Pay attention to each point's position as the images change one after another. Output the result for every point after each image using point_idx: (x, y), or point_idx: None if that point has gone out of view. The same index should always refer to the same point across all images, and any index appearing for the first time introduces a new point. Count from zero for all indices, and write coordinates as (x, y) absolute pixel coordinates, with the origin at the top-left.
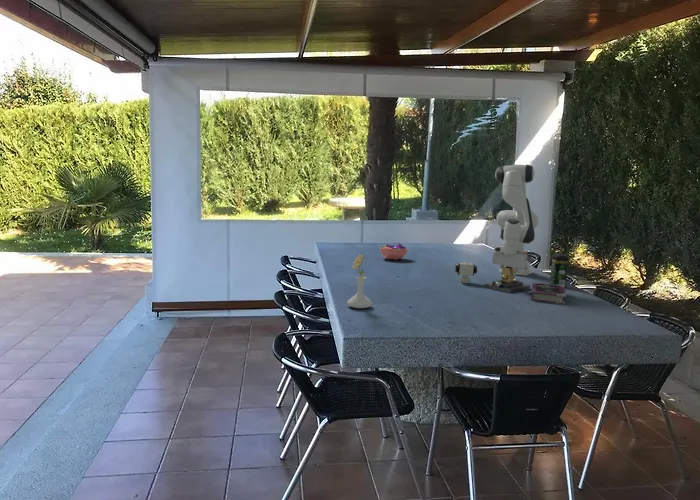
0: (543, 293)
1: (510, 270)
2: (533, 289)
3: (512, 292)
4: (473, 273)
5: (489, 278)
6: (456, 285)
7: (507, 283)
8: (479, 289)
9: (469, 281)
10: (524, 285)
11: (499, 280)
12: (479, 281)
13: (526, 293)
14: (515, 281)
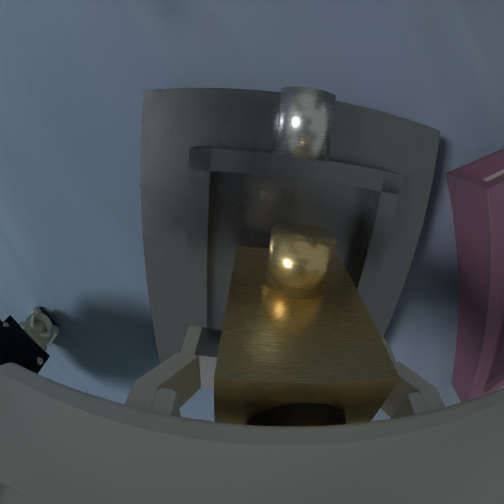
0: (501, 384)
1: None
2: (479, 380)
3: None
4: (41, 367)
5: (14, 73)
6: (87, 392)
7: (254, 234)
8: (190, 403)
9: (51, 326)
10: (409, 182)
11: (191, 297)
12: (32, 224)
13: (434, 297)
14: (320, 181)
